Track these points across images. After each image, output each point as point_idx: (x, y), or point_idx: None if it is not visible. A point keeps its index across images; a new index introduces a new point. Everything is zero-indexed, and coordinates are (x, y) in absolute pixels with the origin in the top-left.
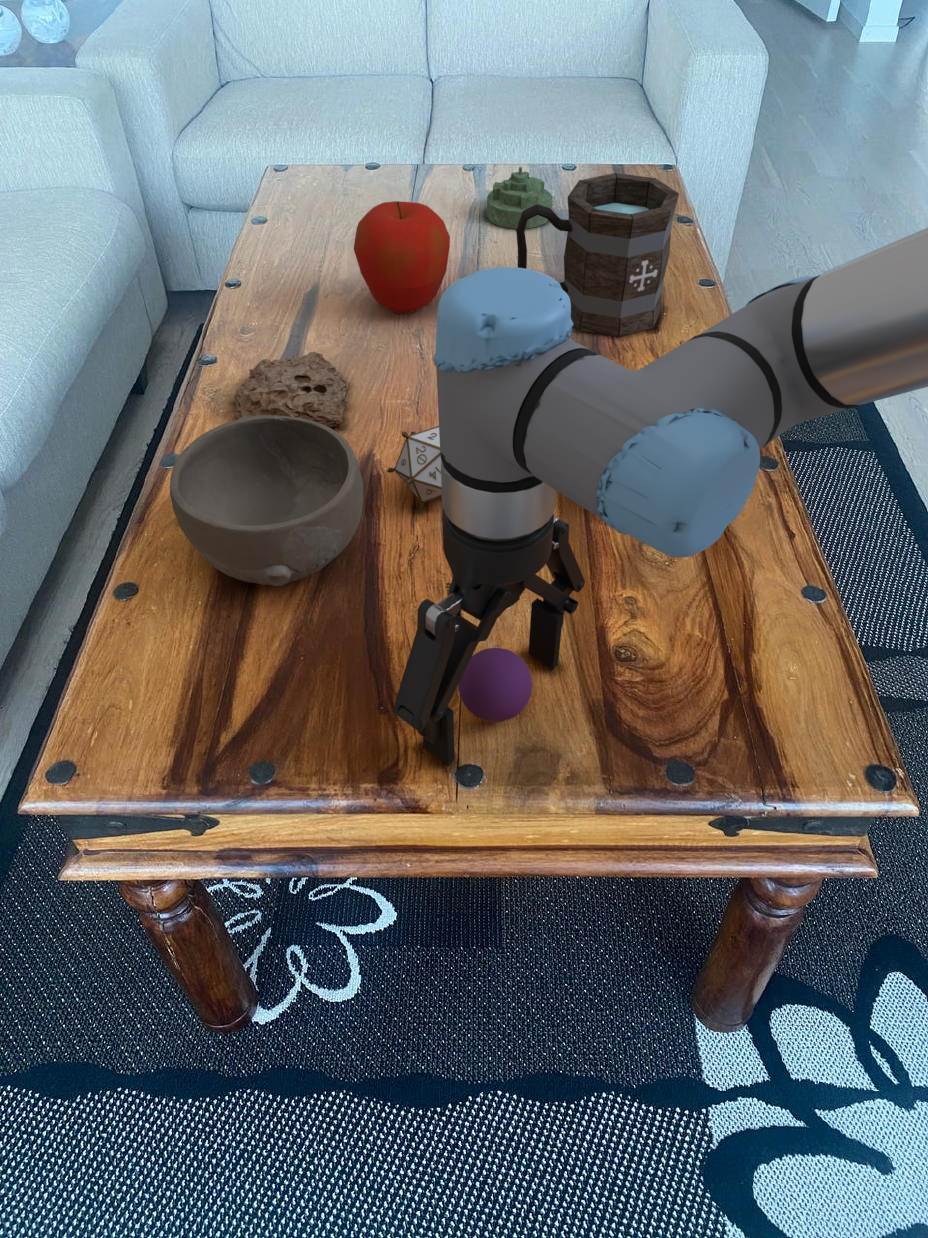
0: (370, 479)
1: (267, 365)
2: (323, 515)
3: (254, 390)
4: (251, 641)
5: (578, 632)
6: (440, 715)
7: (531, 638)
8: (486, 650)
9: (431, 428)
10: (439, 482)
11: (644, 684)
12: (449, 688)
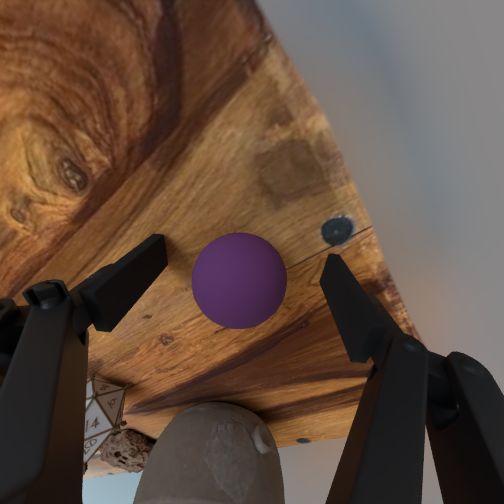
0: (141, 406)
1: (132, 470)
2: (211, 499)
3: None
4: (298, 398)
5: (103, 238)
6: (416, 345)
7: (153, 279)
8: (221, 325)
9: None
10: (96, 412)
11: (81, 121)
12: (416, 397)
